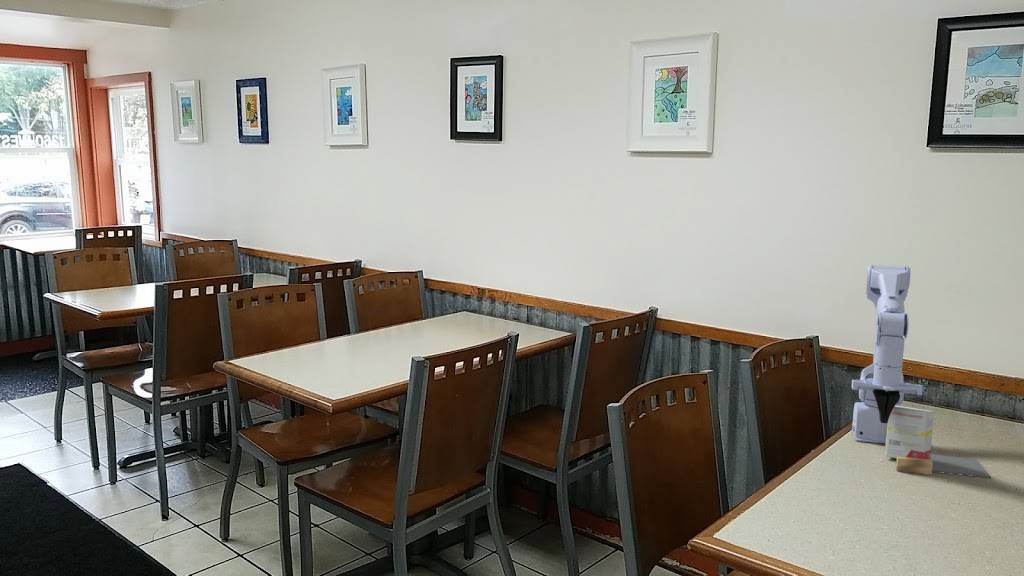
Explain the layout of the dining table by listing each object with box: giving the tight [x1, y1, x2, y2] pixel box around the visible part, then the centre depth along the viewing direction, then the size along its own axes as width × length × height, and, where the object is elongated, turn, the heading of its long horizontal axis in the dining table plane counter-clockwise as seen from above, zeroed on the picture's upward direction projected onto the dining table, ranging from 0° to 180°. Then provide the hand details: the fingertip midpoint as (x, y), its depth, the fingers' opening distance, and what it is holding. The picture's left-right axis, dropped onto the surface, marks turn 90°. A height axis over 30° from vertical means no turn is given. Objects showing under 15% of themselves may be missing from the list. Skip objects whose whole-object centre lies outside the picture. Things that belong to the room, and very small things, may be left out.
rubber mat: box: [930, 453, 992, 479], centre depth 177 cm, size 12×11×1 cm
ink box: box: [884, 405, 935, 460], centre depth 179 cm, size 9×5×12 cm, turn 44°
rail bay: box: [884, 444, 933, 475], centre depth 179 cm, size 7×14×3 cm, turn 164°
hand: (883, 421), depth 180 cm, fingers closed
